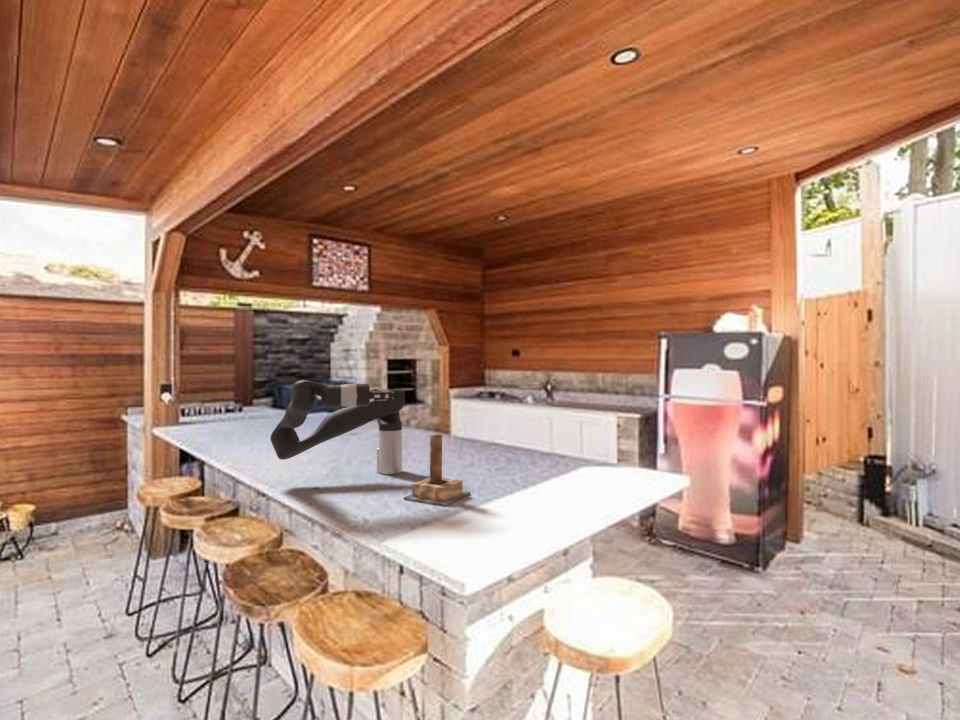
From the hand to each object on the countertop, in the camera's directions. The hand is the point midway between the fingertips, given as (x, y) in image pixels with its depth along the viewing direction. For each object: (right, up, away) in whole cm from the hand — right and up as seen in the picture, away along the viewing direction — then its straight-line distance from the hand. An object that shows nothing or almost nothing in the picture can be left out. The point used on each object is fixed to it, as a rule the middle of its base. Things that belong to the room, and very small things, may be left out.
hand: (403, 393), depth 186 cm
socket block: (+12, -34, -5) cm, 37 cm away
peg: (+12, -33, -6) cm, 36 cm away
